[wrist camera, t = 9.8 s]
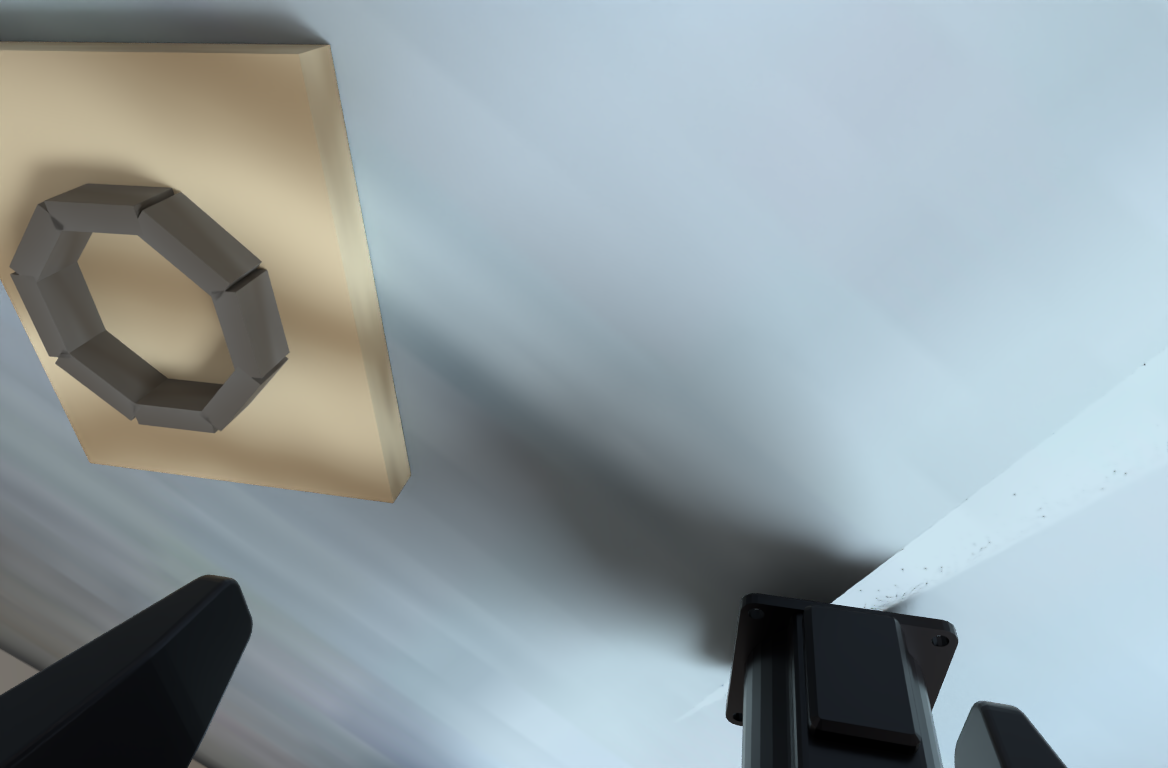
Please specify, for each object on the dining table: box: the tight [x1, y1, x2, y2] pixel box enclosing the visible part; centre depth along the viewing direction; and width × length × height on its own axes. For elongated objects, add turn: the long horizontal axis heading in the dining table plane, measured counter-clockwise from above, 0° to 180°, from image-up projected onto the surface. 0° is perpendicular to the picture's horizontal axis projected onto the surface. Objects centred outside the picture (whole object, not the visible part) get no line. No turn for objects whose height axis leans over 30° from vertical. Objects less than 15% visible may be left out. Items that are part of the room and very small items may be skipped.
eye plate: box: [0, 41, 411, 503], centre depth 22 cm, size 14×12×3 cm
